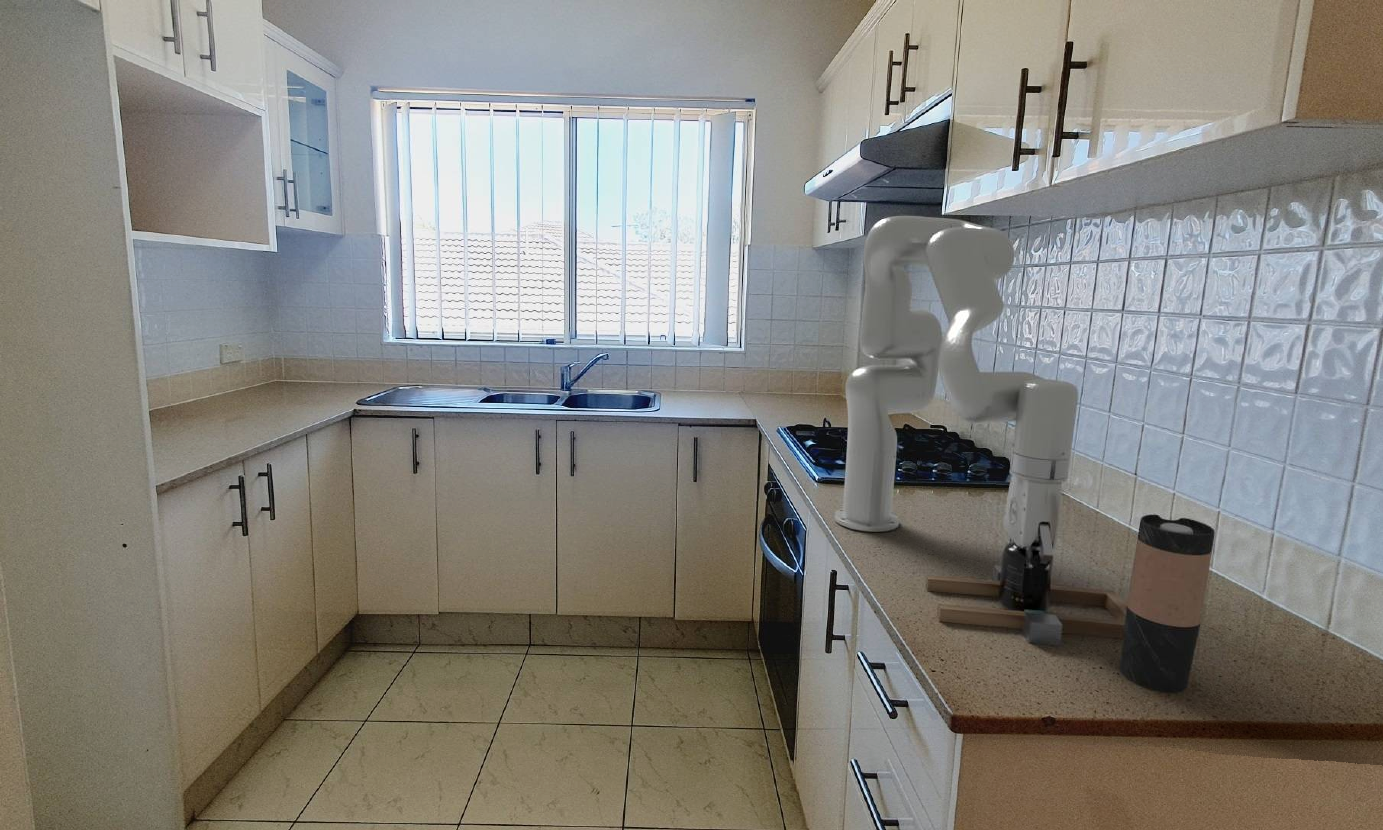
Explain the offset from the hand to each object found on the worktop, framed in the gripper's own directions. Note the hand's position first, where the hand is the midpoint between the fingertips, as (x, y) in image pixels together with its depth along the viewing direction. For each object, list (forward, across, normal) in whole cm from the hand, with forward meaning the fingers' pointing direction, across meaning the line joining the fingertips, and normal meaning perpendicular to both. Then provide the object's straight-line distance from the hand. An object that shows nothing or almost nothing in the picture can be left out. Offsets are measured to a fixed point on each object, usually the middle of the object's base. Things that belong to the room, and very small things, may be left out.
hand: (1025, 581), depth 106 cm
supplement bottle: (+4, 0, 0) cm, 4 cm away
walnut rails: (+5, 0, 0) cm, 5 cm away
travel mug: (+5, +16, +11) cm, 20 cm away
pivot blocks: (+5, 0, 0) cm, 5 cm away
